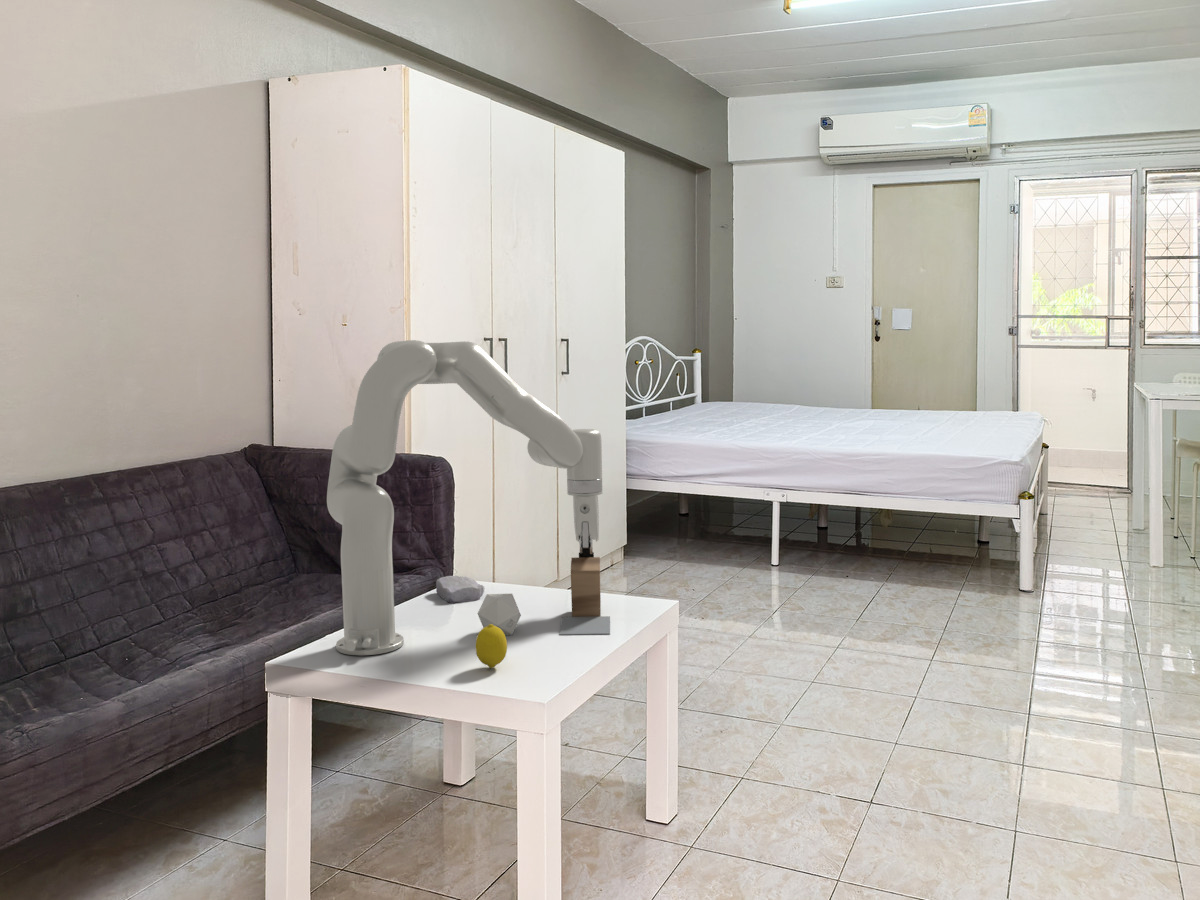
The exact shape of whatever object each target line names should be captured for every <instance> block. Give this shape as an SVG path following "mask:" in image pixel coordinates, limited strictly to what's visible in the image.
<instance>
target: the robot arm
mask: <svg viewBox="0 0 1200 900" xmlns="http://www.w3.org/2000/svg"><path fill="white" fill-rule="evenodd" d="M441 384H442V385H443V384H445V385H446V384H456V385H458V386H459V387H460V388H461V390H463V391H464V392H465V393H466V394H467V395H468V396H470V398H471V399H472V400H473V401H475V402H476V404H478V406H479V407H481V408H482V409H483V410H484V412H485V413H487V414H488V415H489V417H491V418H492V419H493V420H495V421H497V422H498V423H500V424H501V425H503V426H506V427H508V428H510V429H513V430H515V431H517V432H519V433H520V434H522V435H524V436H525V437H527V438H528V439H529V440H528V441H527V447H526V449H527V453H528V455H529V457H530V458H531V459H532V461H534V462H535V463H537V464H539V465H542V466H547V467H554V468H557V469H563V470H566V484H567V485H566V486H567V487H566V489H567V490H566V491H567V492H566V493H567V495H568V496H572V503H573V504H572V506H573V524H574V535H575V540H576V541H577V542H578V543H579V552H578V558H580V557H594V556H595V554H594V553H595V552H594V551H593V540H595V542H598V541H599V540H600V519H599V518H600V516H599V513H600V512H599V510H600V509H599V497H598V496H599V495H602V494H603V460H602V459H603V455H602V454H603V453H602V451H603V449H602V434H601V432H600V431H599V430H597V429H593V428H577V429H576V428H575V429H572V428H571V426H569V424H567V423H566V422H565V421H564V420H563V418H561V417H560V416H559V415H558V414H557V413H556V412H554V411H553V410H552V409H550V408H549V407H548V406H546V405H545V404H544V403H542V402H541V401H540V400H539V399H537V398H536V397H534V395H532V394H530V393H529V392H527V391H526V390H525V389H524V388H522V387H521V386H520V385H519V384H518V383H517V382H516V381H515V380H514V379H513V378H512V377H511V376H510V375H509V374H508V373H507V372H506V371H505V370H504V368H502V367H501V365H499V364H498V363H497V362H496V361H495V360H494V358H492V357H491V356H490V355H489V353H488V352H486V351H485V350H484V349H483V348H482V347H481V346H480V345H478V344H476V343H474V342H472V341H451V342H449V341H448V342H424V341H422V340H416V339H412V340H411V339H410V340H401V341H399V340H398V341H393V342H390V343H387V344H386V345H385V346H384V347H382V349H380V351H379V353H378V354H377V358H376V361H375V362H373V364H372V365H371V366H370V367H369V369H367V371H366V373H365V374H364V376H363V378H362V379H361V383H360V384H359V388H358V391H357V395H356V400H355V407H354V411H353V415H352V424H350V425H348V426H346V427H344V428H343V429H342V430H341V432H339V434H338V435H337V437H336V438H335V441H334V444H333V448H332V450H331V451H332V452H331V461H330V467H329V474H328V475H329V476H328V481H327V491H326V507H327V510H328V513H329V514H330V516H331V517H332V519H333V520H334V521H335V522H337V523H338V524H340V525H341V528H342V529H341V541H340V569H341V589H342V590H341V591H342V592H341V593H342V615H343V635H344V636H343V637H342V638H339V639H338V640H337V641H336V644H335V646H336V650H337V651H338V652H339V653H341V654H343V655H349V656H374V655H380V654H386V653H389V652H393V651H396V650H398V649H399V648H401V647H403V645H404V643H405V642H404V641H405V640H404V636H403V635H402V634H400V633H397V632H396V622H395V621H396V620H395V597H394V596H395V595H394V593H395V592H394V589H395V588H394V564H393V532H394V522H395V521H394V520H395V509H394V508H395V507H394V504H393V500H392V498H391V497H390V495H389V493H388V492H387V491H386V490H385V489H384V488H382V487H381V486H379V485H377V482H378V481H377V480H378V476H381V475H383V474H384V473H386V472H388V471H389V470H390V469H391V467H392V466H393V464H394V462H395V458H396V454H397V453H396V452H397V451H396V450H397V444H398V443H397V442H398V434H399V425H400V419H401V414H402V408H403V404H404V401H405V399H406V397H407V396H408V394H409V392H410V391H412V389H413V388H415V387H416V386H417V385H441Z"/></svg>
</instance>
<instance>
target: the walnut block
mask: <svg viewBox="0 0 1200 900" xmlns="http://www.w3.org/2000/svg"><path fill="white" fill-rule="evenodd" d="M570 592H571V593H570V594H571V617H595V616H601V611H602V609H601V607H602V606H601V602H602V601H601V557H600V556H595V557H580V558H579V557H571V561H570Z"/></svg>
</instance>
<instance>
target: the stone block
mask: <svg viewBox="0 0 1200 900" xmlns="http://www.w3.org/2000/svg"><path fill="white" fill-rule="evenodd" d="M435 582H436V584H435V585H436V594H437V595H438V596H440V597H441V598H442V599H443V600H445V601H446V602H447V603H450V604H456V603H463V602H470V601H473V602H474V601H479V600H480V599H481V597H482V596H483V595H484V593H485V586H484V585H483V584H480V583H478V582H477V581H476V580H474V579H472V578H471V577H467V576H460V575H447V576H441V577H439V578H438V579H436V581H435Z"/></svg>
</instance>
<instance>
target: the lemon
mask: <svg viewBox="0 0 1200 900" xmlns="http://www.w3.org/2000/svg"><path fill="white" fill-rule="evenodd" d="M507 650H508V641H507V637H506V635H505V634H504V633H503V631H502V630H501V629H500V628H498V627H496V626H494V625H493V624H489V625H488V626H487V627H485V628H481V630H480V631H479V632H478V634H477V636H476V638H475V654H476V656H477V658H478V660H479V662H481V663H482V664H483V665H485V666H487V667H489V669H494V668H495V667H496V666H497V665H499V664H500V663H502V662H503V661H504V660H505V658H506V655H507Z"/></svg>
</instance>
